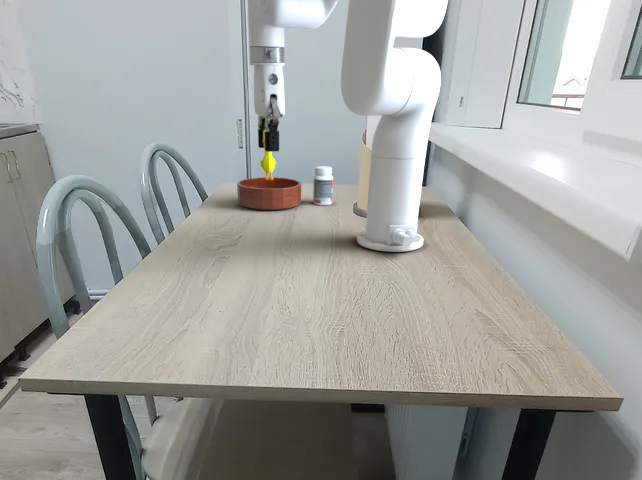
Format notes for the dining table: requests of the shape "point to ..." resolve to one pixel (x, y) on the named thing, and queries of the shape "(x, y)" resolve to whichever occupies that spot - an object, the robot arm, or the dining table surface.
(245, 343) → the dining table surface
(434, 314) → the dining table surface
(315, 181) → the pill bottle
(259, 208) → the bowl
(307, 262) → the dining table surface
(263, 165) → the toy figure
